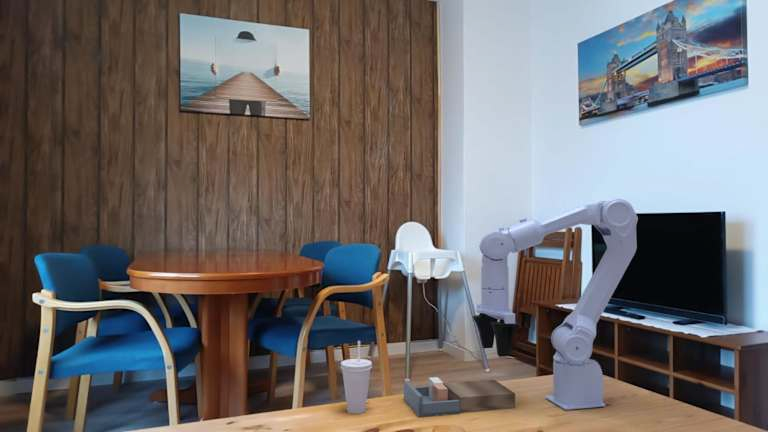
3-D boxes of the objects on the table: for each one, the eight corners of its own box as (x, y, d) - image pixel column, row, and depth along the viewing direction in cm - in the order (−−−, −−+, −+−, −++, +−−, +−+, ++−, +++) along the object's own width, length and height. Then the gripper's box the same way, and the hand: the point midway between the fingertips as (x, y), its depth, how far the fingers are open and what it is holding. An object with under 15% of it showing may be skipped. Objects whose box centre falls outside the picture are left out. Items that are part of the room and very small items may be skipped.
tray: (441, 396, 115) (441, 377, 115) (459, 413, 104) (459, 393, 104) (403, 399, 113) (403, 380, 113) (418, 417, 102) (418, 396, 102)
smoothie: (368, 417, 102) (368, 345, 103) (336, 414, 104) (336, 343, 104) (375, 406, 109) (375, 338, 109) (345, 404, 110) (345, 337, 110)
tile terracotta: (441, 382, 109) (432, 383, 109) (447, 388, 105) (438, 389, 105) (441, 402, 109) (432, 402, 109) (447, 408, 105) (438, 409, 105)
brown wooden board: (493, 392, 117) (493, 379, 117) (515, 407, 108) (515, 393, 108) (443, 396, 115) (443, 383, 115) (460, 412, 105) (460, 397, 105)
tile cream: (437, 377, 114) (428, 377, 113) (443, 382, 110) (434, 383, 109) (437, 395, 114) (428, 396, 113) (443, 401, 110) (434, 402, 109)
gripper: (464, 285, 119) (464, 345, 118) (492, 292, 105) (492, 361, 104) (493, 284, 120) (493, 343, 120) (524, 291, 106) (524, 359, 106)
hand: (495, 351), depth 112 cm, fingers open, 7 cm apart
